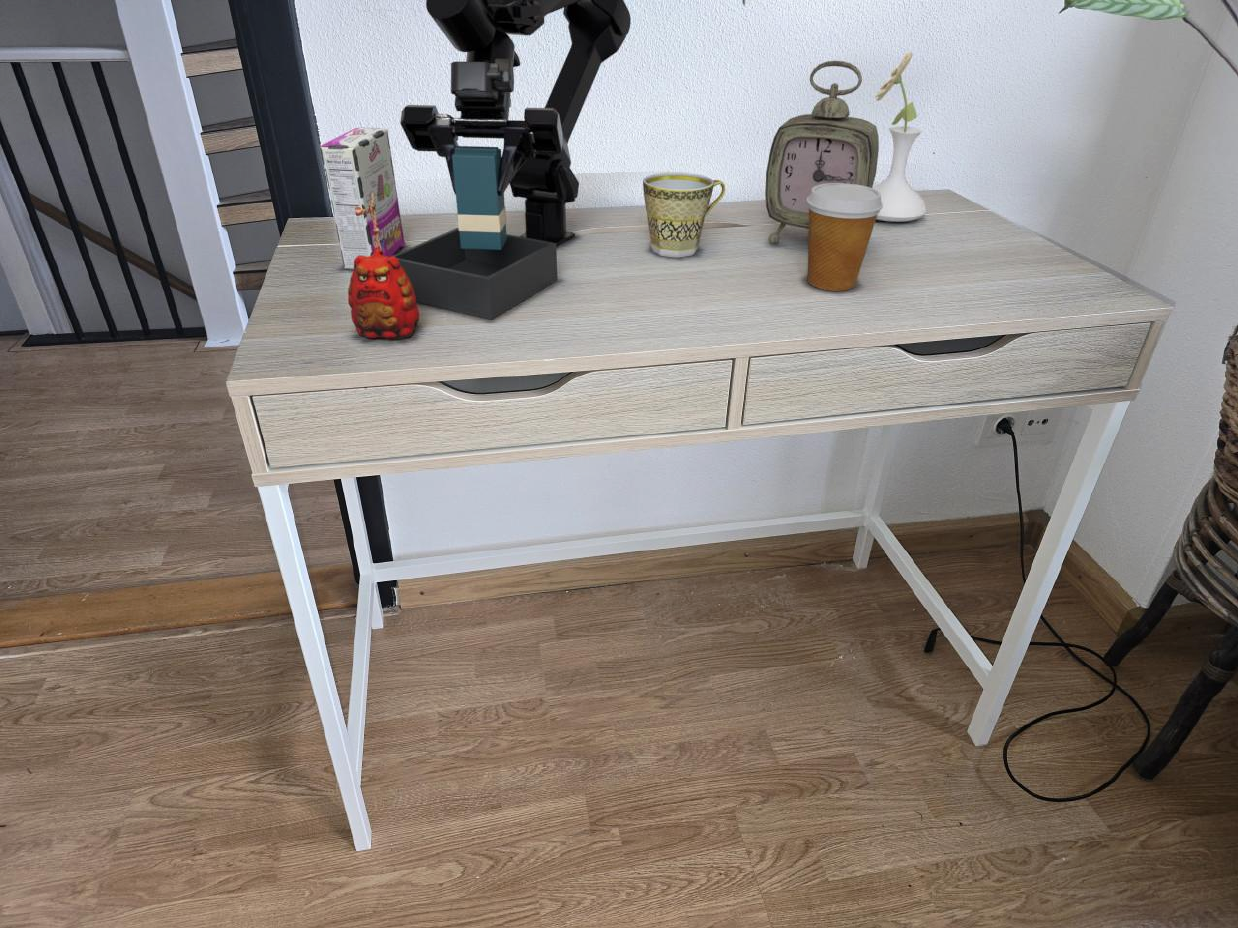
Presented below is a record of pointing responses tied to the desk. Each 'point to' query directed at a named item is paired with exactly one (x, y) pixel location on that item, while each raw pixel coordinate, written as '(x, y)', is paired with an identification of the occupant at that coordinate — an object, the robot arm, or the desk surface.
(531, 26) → the robot arm
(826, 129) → the tabletop clock
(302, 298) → the desk surface
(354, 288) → the red clay folk toy
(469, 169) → the teal gift box
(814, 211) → the disposable coffee cup
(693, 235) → the ceramic cup
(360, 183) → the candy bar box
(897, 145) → the flower in vase
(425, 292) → the dark grey open box
